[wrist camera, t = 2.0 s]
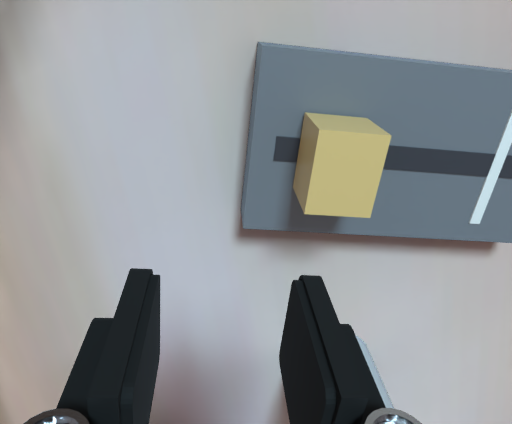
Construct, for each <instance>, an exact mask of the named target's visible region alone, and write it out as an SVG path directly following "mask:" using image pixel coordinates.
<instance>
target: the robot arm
mask: <svg viewBox="0 0 512 424" xmlns="http://www.w3.org/2000/svg"><path fill="white" fill-rule="evenodd" d="M159 355H160V275H153V271H152V269H133V268H131V269H130V271H129V274H128V277H127V280H126V283H125V286H124V289H123V292H122V295H121V298H120V301H119V304H118V307H117V310H116V312H115V315H114V318H94V319H93V320H92V322H91V324H90V327H89V329H88V332H87V334H86V336H85V339H84V341H83V344H82V346H81V349H80V351H79V354H78V356H77V359H76V361H75V364H74V366H73V368H72V371H71V373H70V376H69V378H68V381H67V383H66V386H65V388H64V391H63V393H62V396H61V398H60V400H59V403H58V405H57V408H56V409H53V410H49V411H45V412H42V413H40V414H38V415H36V416H34V417H32V418H30V419H29V420H28V421H26V422H25V423H24V424H149V418H150V412H151V406H152V400H153V394H154V388H155V382H156V376H157V370H158V364H159ZM279 361H280V369H281V374H282V380H283V386H284V392H285V397H286V403H287V409H288V414H289V420H290V424H422V423H420V422H419V421H418V420H417V419H415V418H414V417H413V416H411V415H409V414H407V413H405V412H403V411H401V410H397V409H393V408H386V407H385V404H384V402H383V399H382V397H381V395H380V392H379V390H378V388H377V385H376V383H375V381H374V378H373V376H372V374H371V371H370V369H369V366H368V364H367V362H366V359H365V357H364V355H363V352H362V350H361V348H360V345H359V343H358V340H357V338H356V336H355V333H354V331H353V329H352V327H351V326H350V325H349V324H340V323H339V321H338V318H337V315H336V313H335V310H334V308H333V305H332V303H331V300H330V297H329V295H328V292H327V290H326V287H325V285H324V282H323V280H322V278H321V276H308V275H301V276H300V277H299V280H293V282H292V285H291V291H290V297H289V302H288V308H287V313H286V319H285V325H284V330H283V336H282V341H281V347H280V354H279Z"/></svg>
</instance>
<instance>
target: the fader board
mask: <svg viewBox="0 0 512 424" xmlns="http://www.w3.org/2000/svg"><path fill="white" fill-rule="evenodd" d="M305 112H307V113H318V114H329V115H340V116H351V117H362V118H368V119H369V120H371V121H372V122H373V123H375V124H376V125H378V126H379V127H380V128H382V129H383V130H384V131H386V132H387V133H389V134H390V135H391V140H390V144H389V148H388V152H387V155H386V159H385V163H384V167H383V171H382V175H381V178H380V182H379V186H378V190H377V194H376V198H375V201H374V205H373V209H372V213H371V217H370V218H361V217H344V216H327V215H310V214H304V212H303V210H302V208H301V205H300V203H299V201H298V198H297V196H296V194H295V191H294V189H293V183H294V177H295V170H296V164H297V158H298V152H299V145H300V139H301V133H302V127H303V120H304V114H305ZM241 215H242V224H243V228H244V229H262V230H281V231H300V232H318V233H337V234H355V235H374V236H393V237H411V238H430V239H449V240H467V241H486V242H504V243H512V70H506V69H497V68H488V67H479V66H470V65H461V64H452V63H443V62H434V61H426V60H417V59H408V58H399V57H390V56H381V55H372V54H363V53H354V52H345V51H336V50H327V49H318V48H309V47H300V46H291V45H282V44H273V43H264V42H258V45H257V55H256V65H255V75H254V85H253V95H252V105H251V115H250V124H249V134H248V144H247V154H246V164H245V174H244V184H243V194H242V204H241Z"/></svg>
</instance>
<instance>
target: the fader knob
mask: <svg viewBox="0 0 512 424" xmlns="http://www.w3.org/2000/svg"><path fill="white" fill-rule="evenodd" d="M390 140H391V135H390V134H389V133H387V132H386V131H384V130H383V129H382V128H380V127H379V126H378V125H376V124H375V123H373V122H372V121H371V120H369V119H368V118H362V117H351V116H340V115H329V114H318V113H307V112H305V114H304V120H303V127H302V133H301V139H300V145H299V152H298V158H297V164H296V170H295V177H294V183H293V189H294V191H295V194H296V196H297V198H298V201H299V203H300V205H301V208H302V210H303V212H304V214H310V215H327V216H344V217H361V218H370V217H371V213H372V209H373V205H374V201H375V198H376V194H377V190H378V186H379V182H380V178H381V175H382V171H383V167H384V163H385V159H386V155H387V152H388V148H389V144H390Z"/></svg>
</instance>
